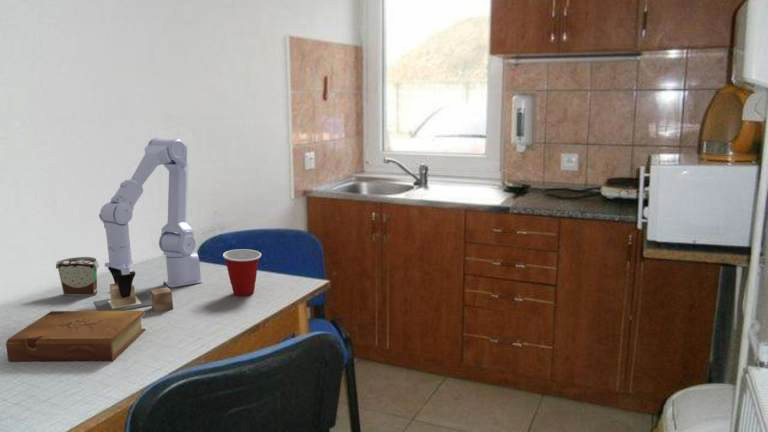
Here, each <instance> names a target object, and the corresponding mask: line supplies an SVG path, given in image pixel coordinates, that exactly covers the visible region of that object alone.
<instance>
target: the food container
mask: <svg viewBox="0 0 768 432" xmlns="http://www.w3.org/2000/svg"><path fill="white" fill-rule="evenodd" d="M99 268H100V264H99V261H98V260H97V258H95V257H92V256H76V257H69V258H65V259H60V260H58V261H56V264H55V269H56V270H58V275H59V279H60V283H61V288H62V292H63V295H64V296H92V297H93V296H96V295H97V293H98V269H99Z"/></svg>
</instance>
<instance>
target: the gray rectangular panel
mask: <svg viewBox="0 0 768 432" xmlns="http://www.w3.org/2000/svg"><path fill="white" fill-rule="evenodd" d="M135 298H136V303H135V304H129V305H123V306H118V307H114V305H113V303H112V302H111V298H105V299H99V300H94V304H95V306H96V308H97V311H131V310H135V309H140V308H145V307H151V306H152V298H151V295H149V294H148V293H147V292H141V293H137V294H136V293H135Z"/></svg>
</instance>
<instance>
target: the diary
mask: <svg viewBox="0 0 768 432" xmlns="http://www.w3.org/2000/svg"><path fill="white" fill-rule="evenodd" d="M144 315H145V311H144V310H124V311H99V310H51V311H49V312H48V313H46V314H45V315H43V316H42V317H39V318H38V319H37V320H35V321H34V322H32V323H31V324H29V325H27V326H25V328H23V329H21V330H20V331H17V333H15V334H13V335H12V336H10V337H8V338H7V340H6V343H5V347H6V354H7V360H8V362H9V363H27V362H28V363H31V362H32V363H33V362H34V363H35V362H37V363H40V362H41V363H42V362H43V363H44V362H47V363H48V362H49V363H51V362H53V363H54V362H56V363H57V362H65V363H67V362H114V361H115V360H116V359H117V358H118V357H120V355H122V354H123V353H124V352H125V351H126V350H127V349H128V348H129V347H130V346H131V345H132V344H133V343H134V342H135V341H136V340H137V339H138V338H139V337H140V336H141V335H142V334H143V333H144V332H145V331H146V328H142V318H141V317H143V316H144Z"/></svg>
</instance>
